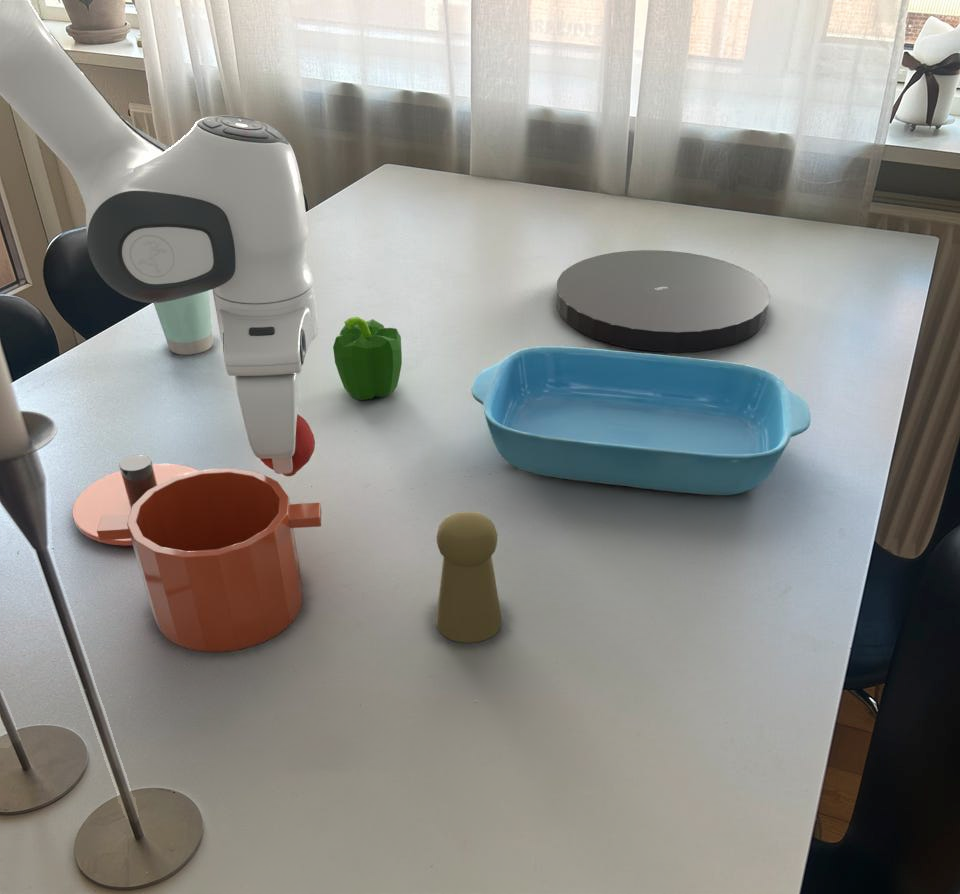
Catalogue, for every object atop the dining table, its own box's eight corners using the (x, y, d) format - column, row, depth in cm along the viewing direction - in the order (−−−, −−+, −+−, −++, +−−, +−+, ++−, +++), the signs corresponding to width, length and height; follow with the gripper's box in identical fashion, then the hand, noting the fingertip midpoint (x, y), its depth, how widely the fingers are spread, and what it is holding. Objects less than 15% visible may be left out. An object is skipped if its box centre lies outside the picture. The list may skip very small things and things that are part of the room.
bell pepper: (394, 372, 129) (389, 296, 122) (411, 400, 123) (407, 322, 117) (330, 382, 127) (322, 305, 121) (345, 411, 121) (336, 333, 115)
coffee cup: (208, 327, 140) (191, 240, 132) (233, 349, 135) (217, 259, 127) (149, 342, 136) (128, 253, 128) (172, 365, 131) (152, 274, 123)
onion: (249, 473, 101) (236, 401, 96) (296, 454, 104) (287, 383, 99) (281, 496, 98) (270, 423, 93) (329, 476, 101) (321, 404, 96)
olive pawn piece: (514, 615, 92) (516, 515, 85) (478, 651, 88) (476, 550, 81) (460, 592, 94) (457, 493, 87) (422, 627, 91) (416, 527, 83)
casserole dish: (794, 417, 119) (807, 361, 115) (802, 522, 103) (817, 461, 98) (492, 391, 125) (492, 336, 120) (453, 486, 108) (452, 427, 104)
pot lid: (211, 545, 100) (200, 497, 97) (61, 555, 99) (44, 507, 96) (224, 468, 111) (215, 423, 108) (89, 476, 110) (75, 430, 107)
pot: (331, 644, 89) (317, 548, 82) (113, 659, 88) (81, 563, 81) (332, 554, 99) (320, 462, 92) (137, 567, 98) (110, 474, 91)
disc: (659, 254, 160) (661, 234, 158) (810, 314, 142) (814, 293, 140) (513, 300, 146) (513, 280, 144) (660, 374, 128) (663, 352, 126)
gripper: (240, 274, 98) (260, 402, 107) (221, 367, 82) (246, 508, 91) (305, 272, 98) (319, 400, 107) (298, 364, 83) (315, 505, 92)
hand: (285, 451), depth 99 cm, fingers closed on onion, 6 cm apart
